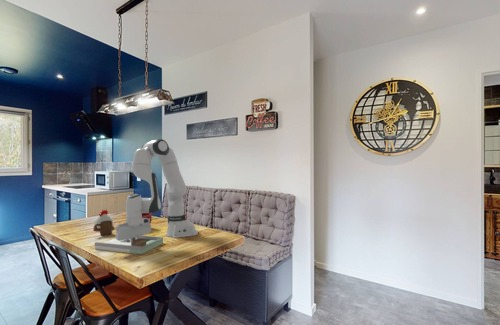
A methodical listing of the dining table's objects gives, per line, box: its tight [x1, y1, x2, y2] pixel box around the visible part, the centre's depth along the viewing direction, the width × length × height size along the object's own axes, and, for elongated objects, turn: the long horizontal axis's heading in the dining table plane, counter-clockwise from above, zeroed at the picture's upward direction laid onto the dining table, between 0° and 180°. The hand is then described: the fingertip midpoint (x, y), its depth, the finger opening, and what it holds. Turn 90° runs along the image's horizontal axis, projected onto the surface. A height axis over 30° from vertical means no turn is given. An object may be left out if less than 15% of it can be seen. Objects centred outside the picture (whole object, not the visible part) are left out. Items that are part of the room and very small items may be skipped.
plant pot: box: [141, 213, 152, 224], centre depth 195 cm, size 13×13×12 cm
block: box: [131, 238, 146, 247], centre depth 147 cm, size 6×6×4 cm
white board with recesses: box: [94, 234, 164, 254], centre depth 155 cm, size 34×20×4 cm, turn 73°
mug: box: [93, 221, 113, 237], centre depth 179 cm, size 12×8×9 cm, turn 146°
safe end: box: [129, 238, 164, 255], centre depth 151 cm, size 8×20×4 cm, turn 163°
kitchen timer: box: [93, 209, 114, 232], centre depth 197 cm, size 14×14×15 cm
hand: (134, 244), depth 148 cm, fingers closed, pressing on block
